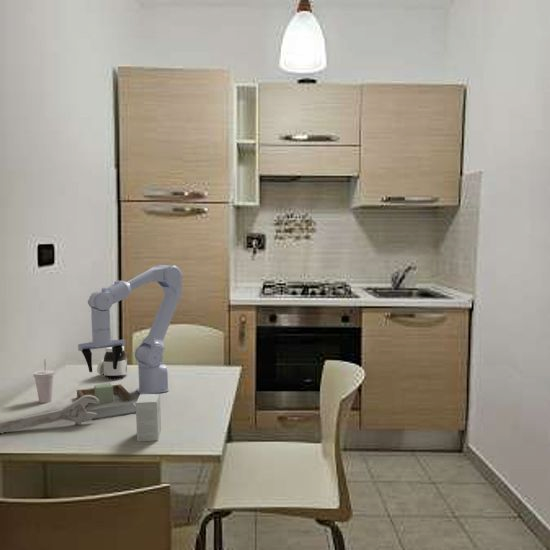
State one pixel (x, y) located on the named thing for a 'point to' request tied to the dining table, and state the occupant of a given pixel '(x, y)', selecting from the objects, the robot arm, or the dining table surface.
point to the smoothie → (44, 384)
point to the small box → (148, 417)
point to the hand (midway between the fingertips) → (102, 370)
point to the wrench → (54, 415)
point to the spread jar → (107, 365)
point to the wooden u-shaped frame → (116, 389)
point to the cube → (104, 392)
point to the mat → (114, 411)
